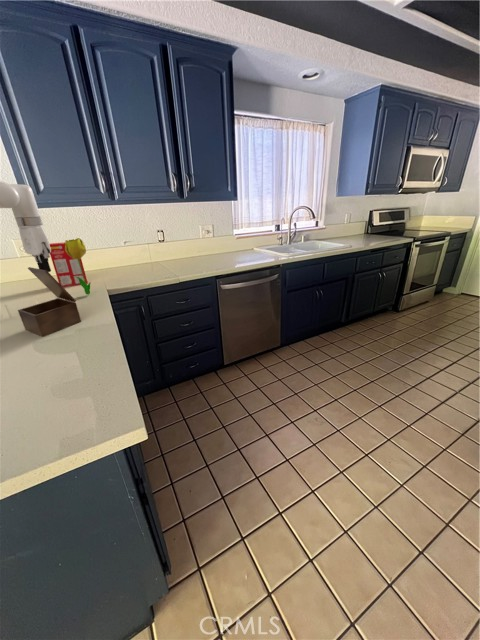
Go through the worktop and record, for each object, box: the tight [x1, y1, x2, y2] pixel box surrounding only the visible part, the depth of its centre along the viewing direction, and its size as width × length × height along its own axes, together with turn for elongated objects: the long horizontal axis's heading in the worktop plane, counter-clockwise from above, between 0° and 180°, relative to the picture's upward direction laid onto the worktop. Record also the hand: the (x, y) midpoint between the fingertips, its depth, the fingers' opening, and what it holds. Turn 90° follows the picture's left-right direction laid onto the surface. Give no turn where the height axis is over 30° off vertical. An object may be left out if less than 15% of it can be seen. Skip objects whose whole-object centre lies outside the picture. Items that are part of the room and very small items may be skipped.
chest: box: [17, 297, 82, 338], centre depth 108 cm, size 16×13×9 cm
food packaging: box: [49, 241, 89, 288], centre depth 159 cm, size 15×5×25 cm, turn 122°
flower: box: [64, 237, 92, 296], centre depth 139 cm, size 9×8×30 cm
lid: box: [27, 266, 77, 303], centre depth 107 cm, size 16×13×1 cm
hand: (45, 272), depth 104 cm, fingers closed
